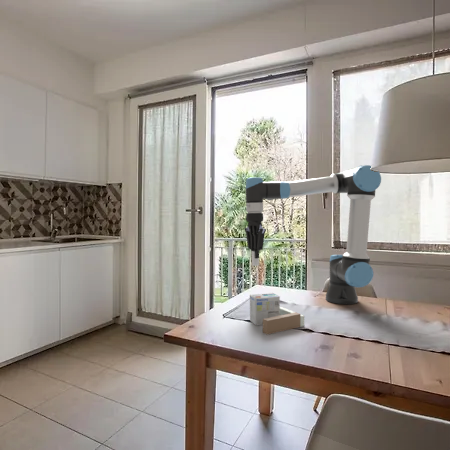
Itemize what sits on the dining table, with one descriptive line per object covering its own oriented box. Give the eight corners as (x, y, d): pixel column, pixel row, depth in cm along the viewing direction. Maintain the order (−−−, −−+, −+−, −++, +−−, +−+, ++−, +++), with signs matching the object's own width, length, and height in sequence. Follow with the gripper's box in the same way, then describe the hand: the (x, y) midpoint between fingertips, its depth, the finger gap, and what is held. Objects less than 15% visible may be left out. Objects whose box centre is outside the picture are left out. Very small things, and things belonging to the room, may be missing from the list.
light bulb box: (272, 317, 137) (272, 292, 136) (280, 323, 130) (280, 296, 130) (248, 320, 134) (249, 294, 133) (255, 325, 127) (255, 298, 127)
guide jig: (266, 309, 148) (266, 298, 148) (304, 325, 127) (304, 313, 127) (232, 316, 139) (232, 304, 139) (266, 334, 118) (267, 320, 118)
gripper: (239, 212, 149) (240, 264, 150) (256, 212, 138) (257, 268, 139) (252, 212, 153) (253, 262, 154) (270, 212, 142) (271, 266, 143)
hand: (255, 265), depth 147 cm, fingers closed
